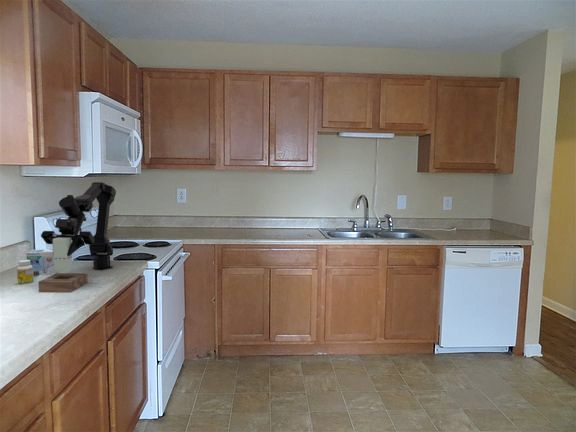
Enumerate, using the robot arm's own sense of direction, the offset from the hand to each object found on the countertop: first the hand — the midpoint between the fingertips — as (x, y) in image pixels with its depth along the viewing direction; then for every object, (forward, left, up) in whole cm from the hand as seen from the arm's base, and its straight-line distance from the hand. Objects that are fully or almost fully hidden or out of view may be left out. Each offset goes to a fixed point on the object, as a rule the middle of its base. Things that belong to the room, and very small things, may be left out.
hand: (60, 255), depth 157 cm
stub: (-1, -1, -6) cm, 6 cm away
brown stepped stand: (-1, -1, -13) cm, 14 cm away
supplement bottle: (+4, -20, -14) cm, 24 cm away
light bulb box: (-8, -30, -14) cm, 34 cm away
